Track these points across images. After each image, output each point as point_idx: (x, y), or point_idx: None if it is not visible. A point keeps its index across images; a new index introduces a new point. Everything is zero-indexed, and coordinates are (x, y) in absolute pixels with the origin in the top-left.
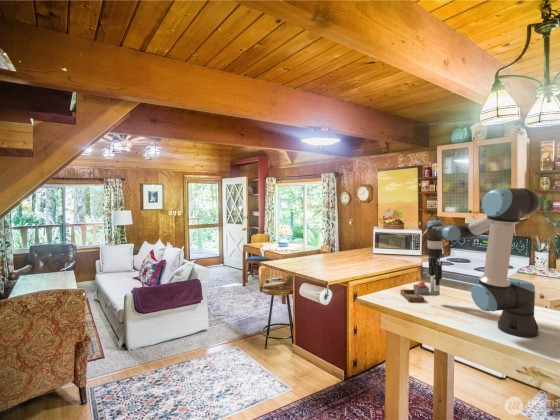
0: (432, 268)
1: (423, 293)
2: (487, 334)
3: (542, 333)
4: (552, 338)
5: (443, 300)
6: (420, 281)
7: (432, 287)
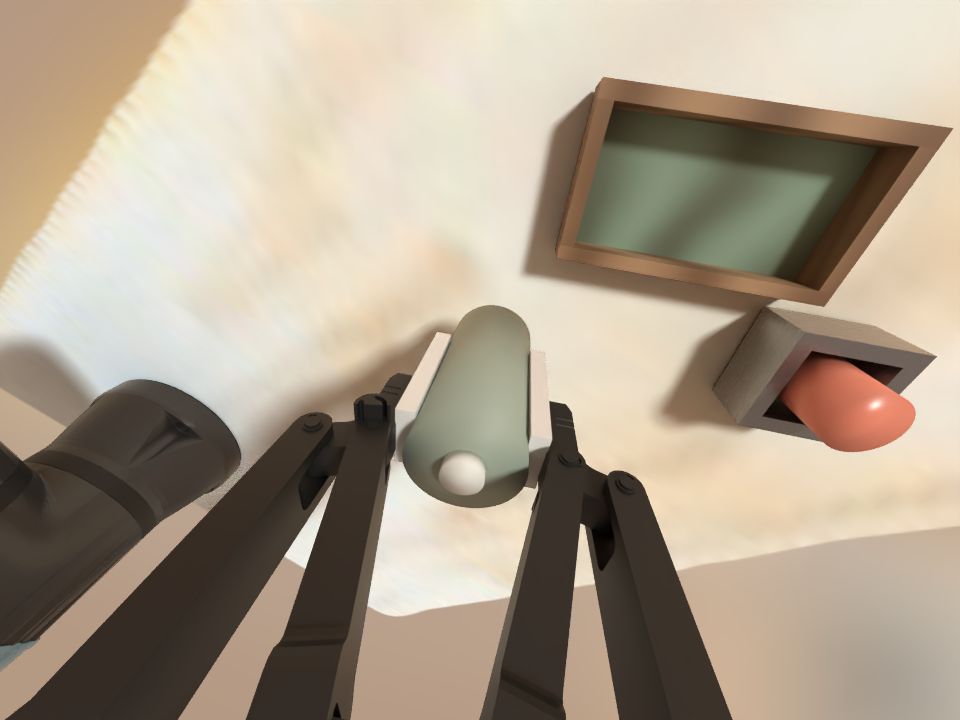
0: (513, 599)
1: (738, 356)
2: (77, 298)
3: None
4: None
5: (562, 402)
6: (885, 425)
7: (463, 341)
